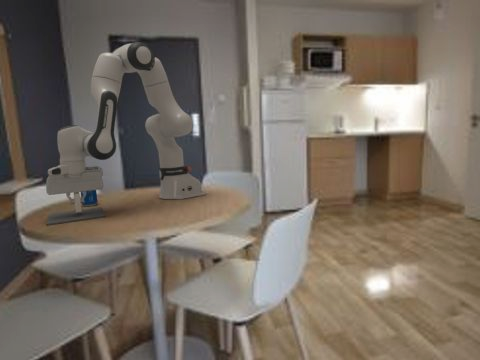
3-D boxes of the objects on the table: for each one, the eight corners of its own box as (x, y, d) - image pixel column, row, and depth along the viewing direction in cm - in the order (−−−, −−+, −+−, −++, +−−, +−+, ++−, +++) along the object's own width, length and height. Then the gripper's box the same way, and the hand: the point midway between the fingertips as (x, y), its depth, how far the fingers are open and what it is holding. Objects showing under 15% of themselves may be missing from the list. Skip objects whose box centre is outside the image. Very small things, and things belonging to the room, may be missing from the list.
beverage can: (84, 207, 157) (81, 180, 156) (80, 205, 162) (77, 179, 161) (99, 204, 161) (96, 178, 160) (95, 202, 166) (92, 177, 165)
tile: (80, 208, 145) (78, 190, 144) (81, 211, 138) (79, 193, 137) (75, 208, 145) (73, 191, 144) (75, 212, 137) (73, 194, 136)
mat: (101, 208, 154) (101, 206, 154) (105, 217, 138) (105, 215, 138) (48, 215, 145) (48, 214, 145) (46, 225, 129) (46, 223, 129)
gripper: (101, 165, 146) (105, 198, 148) (44, 170, 138) (48, 205, 140) (102, 166, 141) (106, 201, 143) (43, 171, 132) (48, 208, 134)
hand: (77, 203), depth 141 cm, fingers closed on tile, 2 cm apart
